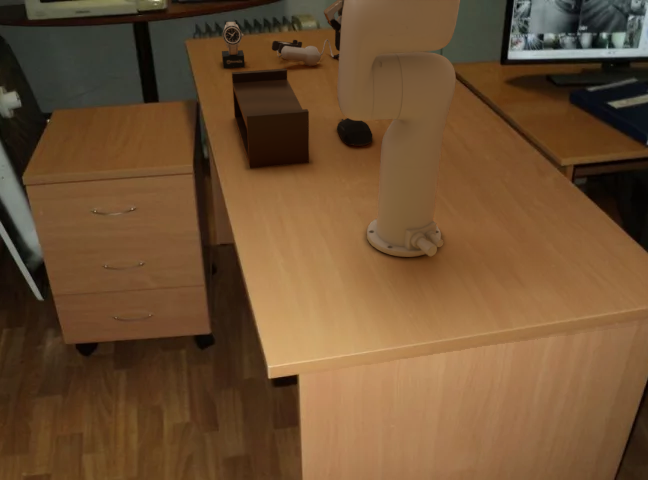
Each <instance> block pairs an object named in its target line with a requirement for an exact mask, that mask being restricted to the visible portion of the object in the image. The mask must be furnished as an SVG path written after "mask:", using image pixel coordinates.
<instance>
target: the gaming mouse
mask: <svg viewBox="0 0 648 480" xmlns="http://www.w3.org/2000/svg"><path fill="white" fill-rule="evenodd" d="M336 131H337V133H338V135H339V136H340V138H341V140H342V142H343V143H345V144H346V145H350V146H357V147H361V146H367V145H368V144H371V143H372V142H373V132H372V130H371V128H370V126H369V124H368V123H367V122H366V121H356V120H351V119H348V118H347V117H346V118H345V119H344V118H341V121H340V122H338V123H337V126H336Z"/></svg>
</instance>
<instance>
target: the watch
mask: <svg viewBox="0 0 648 480" xmlns="http://www.w3.org/2000/svg"><path fill="white" fill-rule="evenodd" d="M243 38H244V33H242V30H241V29H240V28H239V25H238V24H236V21H226V22H225V25H224V29H223V31H222V39H223V41H224V44H225V46H226V48H227V50H222V51H221V58H222V59H221V60H222V66H223V69H239V68H240V69H241V68H246V65H245V54H244V50H243V49H239V48H240V46H241V41H242V39H243Z"/></svg>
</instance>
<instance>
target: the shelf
mask: <svg viewBox="0 0 648 480" xmlns="http://www.w3.org/2000/svg"><path fill="white" fill-rule="evenodd" d="M231 82H232V83H231V85H232V97H233V98H232V99H233V114H234V121H235V125H236V128H237V130H238V135H239V138H240V141H241V145H242V147H243V151H244V154H245V157H246V161H247V164H248V167H249V169H257V168H267V167H278V166H289V165H300V164H301V165H302V164H309V163H310V141H309V140H310V121H309V120H310V118H309V117H310V113H309V112H310V111H309V109H307V108H302V105H301V103H300V101H299V99H298V97H297V96H296V93H295V92H294V89H293V88H292V86H291V83H290V82H289V79H288V69H287V68H286V67H285V68H274V69H273V68H272V69H258V70H257V69H256V70H244V71H243V70H242V71H231Z"/></svg>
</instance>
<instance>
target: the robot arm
mask: <svg viewBox="0 0 648 480" xmlns="http://www.w3.org/2000/svg"><path fill="white" fill-rule="evenodd" d="M460 4H461V0H335V1H334V2H333V3H331V4H330V5H329V6H327V7H326V8H325V9H323V15H324V16H325V19H326V21H327V24H328V25H329V26H330V27H331V28H332V29H333V30H334V46H335V49H336V51H338V52H339V53H338V54H339V58H338V70H337V89H336V90H337V91H336V93H337V102H338V107H339V110H340V112H341V114H342V115H343V116H344V117H345V118H346V119H347V118H348V119H351V120H356V121H363V122H369V121H387V120H390V121H391V120H392V121H391V123H389V125H388V127H387V129H386V130H385V132H384V135H383V136H382V140H381V145H380V160H379V173H378V175H379V176H378V191H377V209H376V210H377V211H376V218H374V219H373V220H372V221H371V222H370V223H369V224H368V225H367V228H366V238H367V241H368V243H369V244H370V245H371V246H372V247H374V248H375V249H376V250H378V251H380V252H382V253H384V254H387V255H391V256H395V257H402V258H405V257H407V258H408V257H409V258H413V257H414V258H415V257H419V256H424V255H426V256H428V257H433V256H435V255H436V254H437V252H438V248H441V247H442V246H443V245H444V240H443V239H442V232H441V230H440V229H441V228H439V226H438V225H437V224H438V223H436V222H435V212H436V211H435V210H436V202H437V195H438V185H439V175H440V166H441V157H442V150H443V143H444V134H445V129H446V124H447V120H448V116H449V112H450V110H451V106H452V103H453V100H454V96H455V91H456V85H457V76H456V71H455V68H454V65H453V63H452V62H451V61H450V60H449V59H448V58H447V57H446V56H444V55H442V54H439V53H435V52H433V51H438V50H441V49H443V48H445V47H447V45H448V44H449V43H450V42H451V41H452V38H453V36H454V33H455V30H456V26H457V22H458V17H459V15H458V14H459V11H460ZM336 13H337V16H338V17H337V19H336V17H335V14H336Z"/></svg>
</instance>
